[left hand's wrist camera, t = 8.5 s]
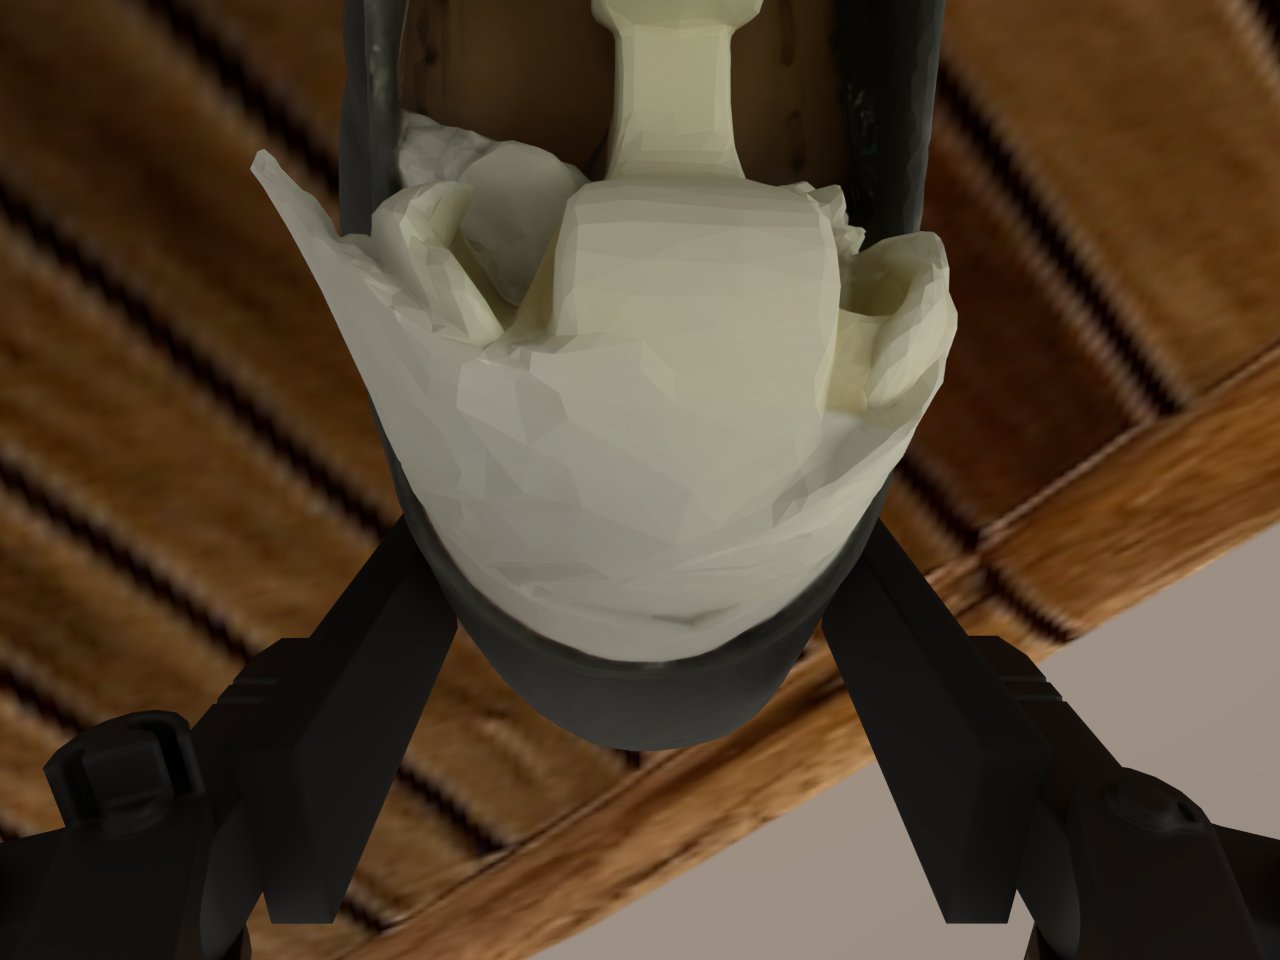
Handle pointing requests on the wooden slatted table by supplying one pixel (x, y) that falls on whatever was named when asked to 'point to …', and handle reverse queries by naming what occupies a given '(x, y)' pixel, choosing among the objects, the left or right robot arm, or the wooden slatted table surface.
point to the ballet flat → (637, 324)
